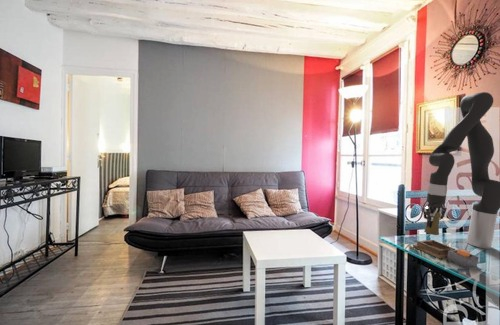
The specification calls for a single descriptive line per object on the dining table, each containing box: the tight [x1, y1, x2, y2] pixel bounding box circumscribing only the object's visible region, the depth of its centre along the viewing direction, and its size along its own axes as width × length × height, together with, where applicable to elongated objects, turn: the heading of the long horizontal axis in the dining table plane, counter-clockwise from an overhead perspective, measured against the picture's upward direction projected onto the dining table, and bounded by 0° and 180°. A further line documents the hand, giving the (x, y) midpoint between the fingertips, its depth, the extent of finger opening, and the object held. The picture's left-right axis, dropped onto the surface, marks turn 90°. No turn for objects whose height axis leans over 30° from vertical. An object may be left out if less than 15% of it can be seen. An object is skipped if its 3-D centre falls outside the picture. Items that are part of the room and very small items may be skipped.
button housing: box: [446, 249, 479, 269], centre depth 107 cm, size 7×7×4 cm
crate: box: [412, 239, 456, 259], centre depth 117 cm, size 12×12×3 cm
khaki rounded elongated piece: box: [424, 212, 440, 236], centre depth 129 cm, size 6×6×11 cm
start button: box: [456, 248, 471, 257], centre depth 107 cm, size 4×4×3 cm
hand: (432, 227), depth 129 cm, fingers closed on khaki rounded elongated piece, 4 cm apart
